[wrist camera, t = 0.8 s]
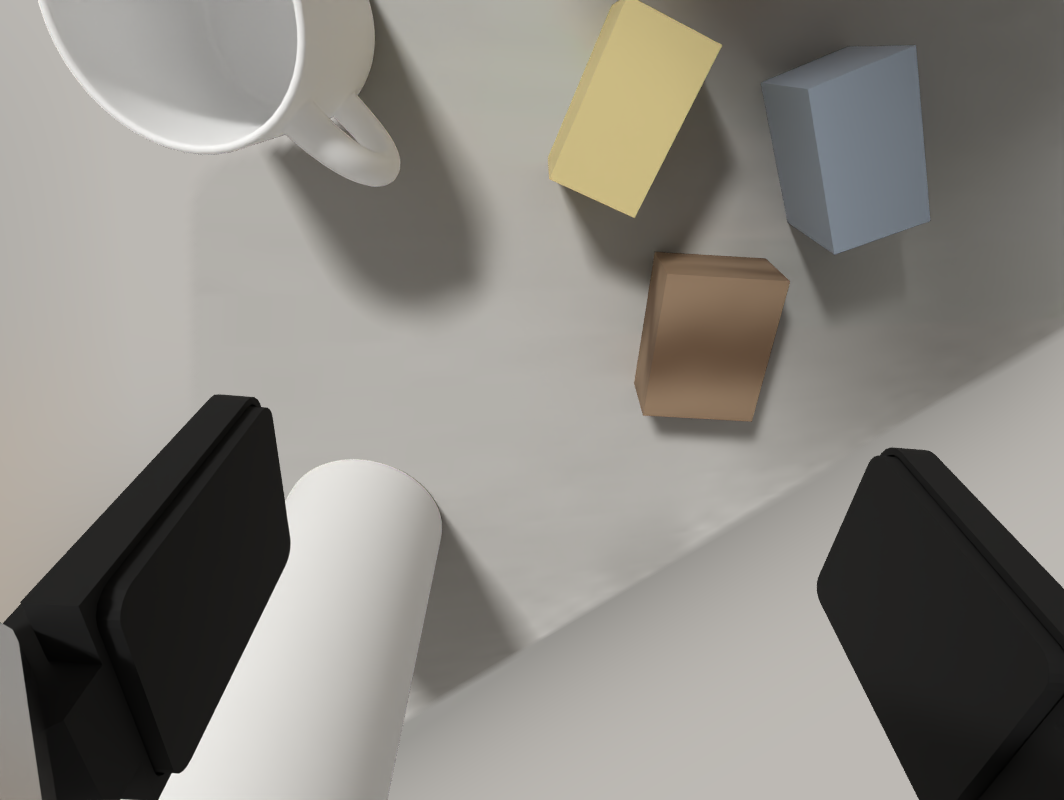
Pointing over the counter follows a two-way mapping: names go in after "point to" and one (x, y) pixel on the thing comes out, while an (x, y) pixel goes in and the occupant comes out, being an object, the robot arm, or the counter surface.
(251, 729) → the tall pillar cylinder
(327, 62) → the mug
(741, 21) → the counter surface
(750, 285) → the walnut block
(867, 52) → the slate brick
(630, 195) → the mustard brick
